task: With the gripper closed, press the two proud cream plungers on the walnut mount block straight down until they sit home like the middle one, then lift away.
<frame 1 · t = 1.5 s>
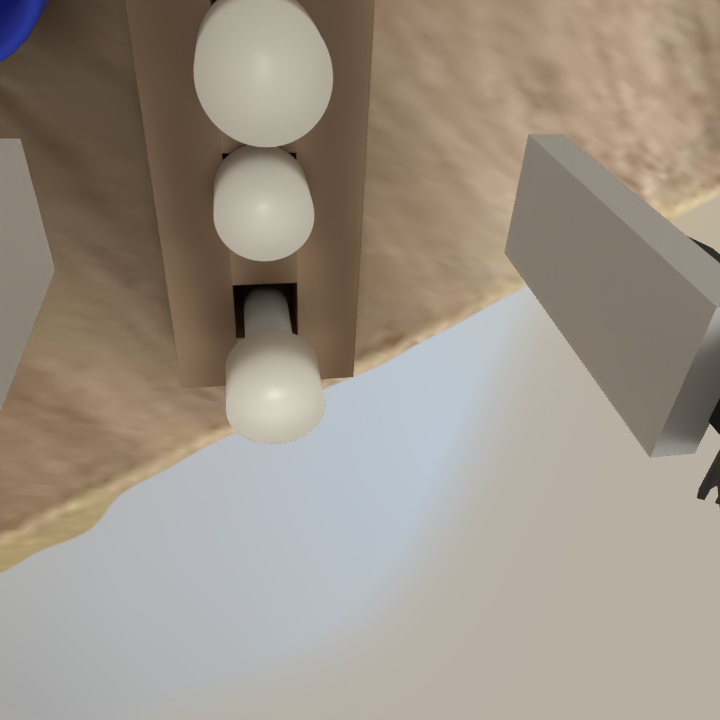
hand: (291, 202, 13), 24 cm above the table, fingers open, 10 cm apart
knob a: (270, 351, 33), point 10 cm above the table, slide at 0.0 cm
knob c: (258, 47, 24), point 10 cm above the table, slide at 0.0 cm
mount: (255, 144, 36), on the table
knob b: (259, 178, 32), point 5 cm above the table, slide at 4.8 cm
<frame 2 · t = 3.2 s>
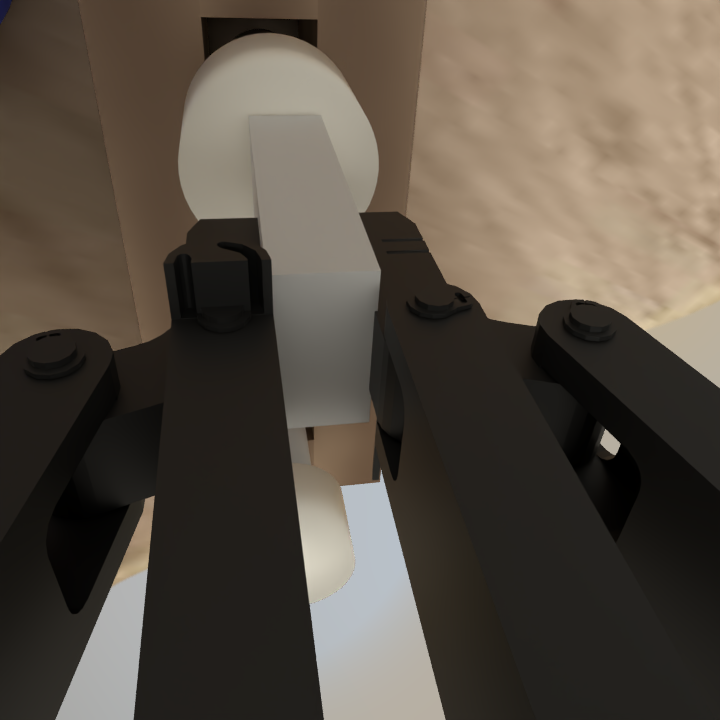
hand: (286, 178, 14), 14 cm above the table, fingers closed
knob a: (282, 478, 26), point 10 cm above the table, slide at 0.0 cm
knob c: (268, 111, 18), point 9 cm above the table, slide at 0.5 cm, touching gripper
mount: (261, 207, 29), on the table
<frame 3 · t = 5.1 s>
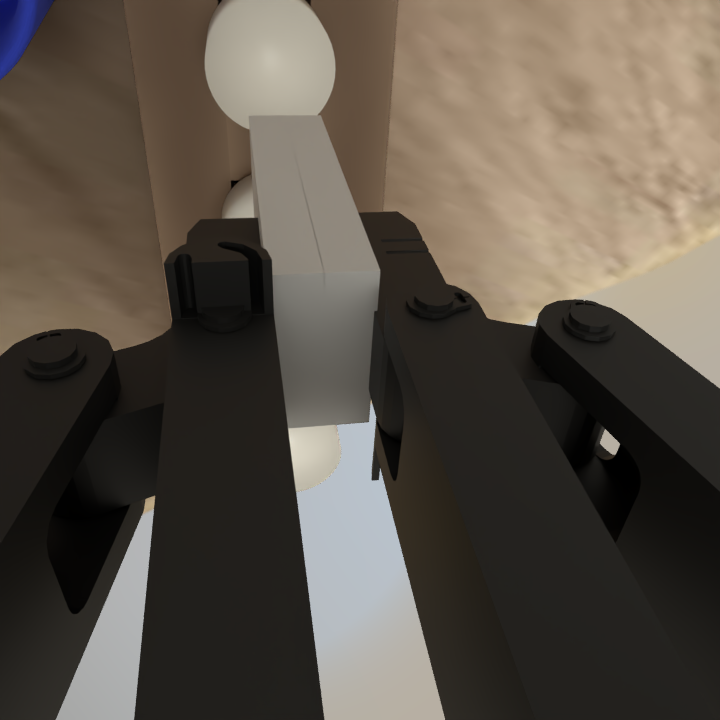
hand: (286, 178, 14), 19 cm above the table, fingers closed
knob a: (281, 390, 31), point 10 cm above the table, slide at 0.0 cm
knob c: (265, 41, 26), point 5 cm above the table, slide at 4.5 cm
mount: (265, 166, 34), on the table
knob b: (270, 206, 30), point 5 cm above the table, slide at 4.8 cm
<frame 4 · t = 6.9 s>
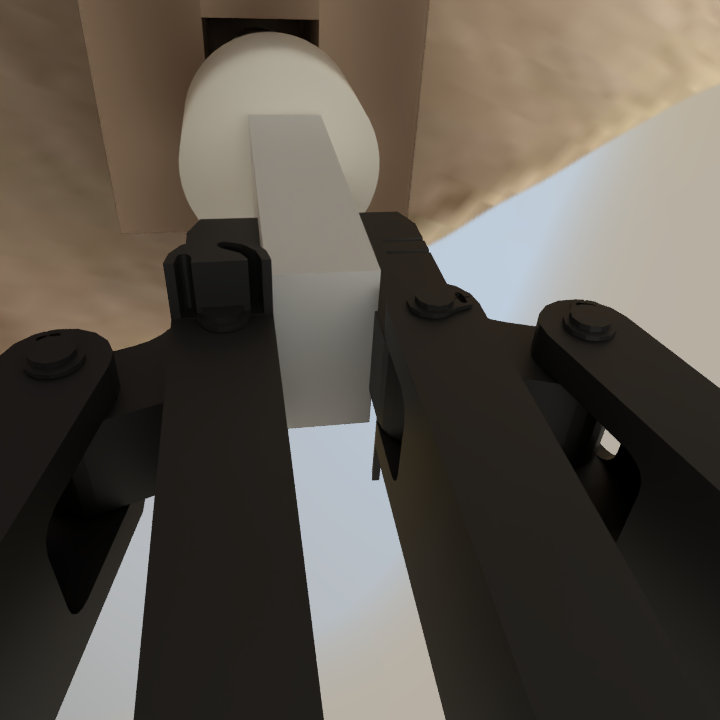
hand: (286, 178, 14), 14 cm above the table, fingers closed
knob a: (269, 110, 18), point 9 cm above the table, slide at 0.7 cm, touching gripper
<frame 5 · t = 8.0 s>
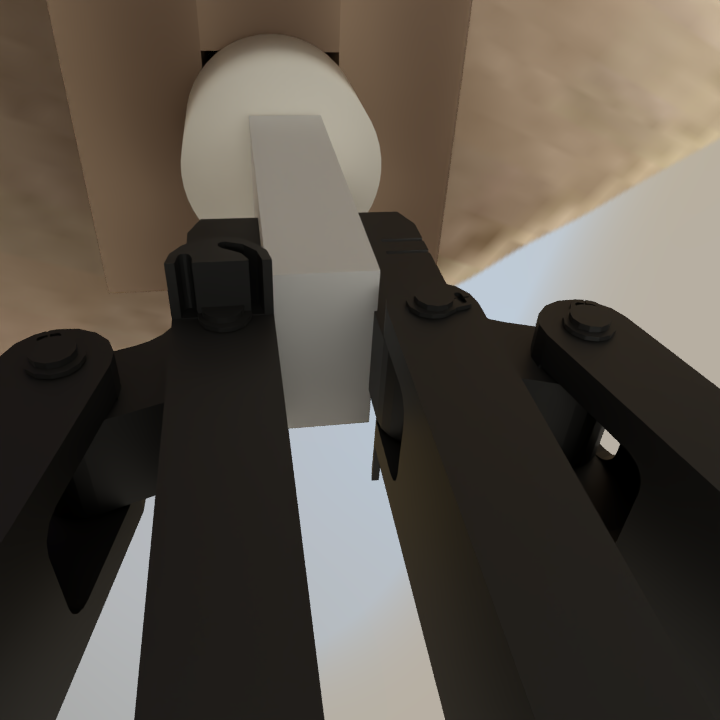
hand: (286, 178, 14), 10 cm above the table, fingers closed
knob a: (271, 111, 18), point 5 cm above the table, slide at 4.5 cm, touching gripper
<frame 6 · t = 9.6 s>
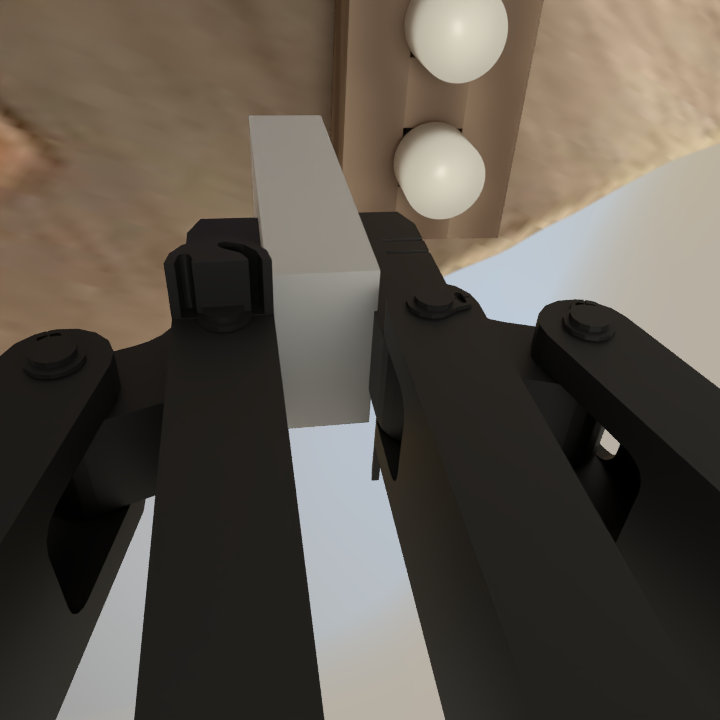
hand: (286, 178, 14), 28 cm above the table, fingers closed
knob a: (426, 153, 38), point 5 cm above the table, slide at 4.5 cm
mount: (420, 5, 38), on the table
knob b: (440, 19, 35), point 5 cm above the table, slide at 4.8 cm
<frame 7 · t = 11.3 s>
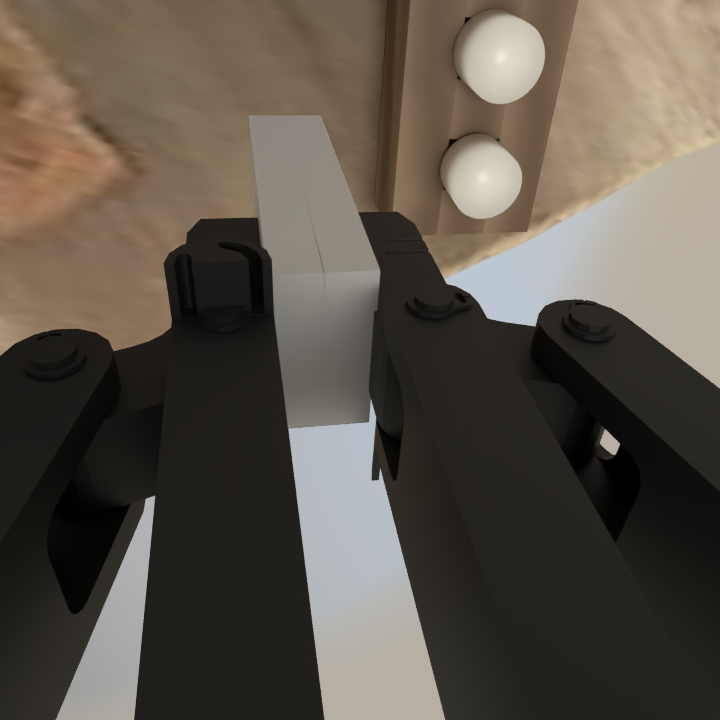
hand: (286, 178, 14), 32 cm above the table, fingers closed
knob a: (467, 160, 44), point 5 cm above the table, slide at 4.5 cm
mount: (459, 28, 44), on the table
knob b: (482, 45, 40), point 5 cm above the table, slide at 4.8 cm
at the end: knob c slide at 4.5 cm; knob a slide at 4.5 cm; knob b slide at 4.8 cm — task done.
